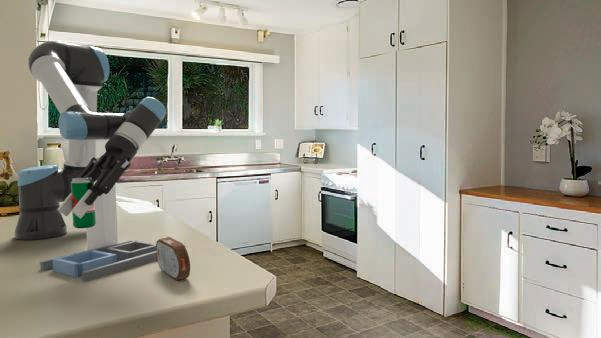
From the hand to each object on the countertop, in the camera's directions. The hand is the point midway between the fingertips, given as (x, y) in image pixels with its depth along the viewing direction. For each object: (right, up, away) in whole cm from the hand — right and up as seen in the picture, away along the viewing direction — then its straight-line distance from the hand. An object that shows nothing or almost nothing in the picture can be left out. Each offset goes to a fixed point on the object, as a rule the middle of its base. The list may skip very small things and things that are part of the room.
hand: (69, 213), depth 103 cm
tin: (+25, -15, -1) cm, 29 cm away
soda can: (+2, -4, +3) cm, 6 cm away
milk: (-3, -13, +25) cm, 28 cm away
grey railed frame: (+5, -14, +10) cm, 18 cm away
